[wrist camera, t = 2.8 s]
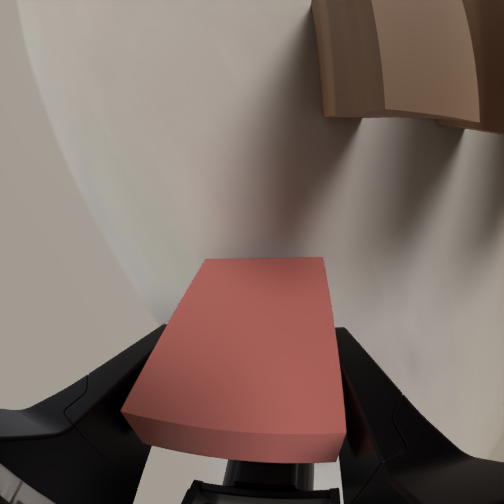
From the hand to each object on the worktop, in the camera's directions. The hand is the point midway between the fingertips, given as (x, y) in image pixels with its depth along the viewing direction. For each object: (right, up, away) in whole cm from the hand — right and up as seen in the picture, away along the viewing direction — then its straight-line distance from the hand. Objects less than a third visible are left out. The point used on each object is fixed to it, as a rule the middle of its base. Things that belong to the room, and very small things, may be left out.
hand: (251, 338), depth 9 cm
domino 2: (+3, +10, 0) cm, 11 cm away
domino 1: (+1, +2, +4) cm, 4 cm away
